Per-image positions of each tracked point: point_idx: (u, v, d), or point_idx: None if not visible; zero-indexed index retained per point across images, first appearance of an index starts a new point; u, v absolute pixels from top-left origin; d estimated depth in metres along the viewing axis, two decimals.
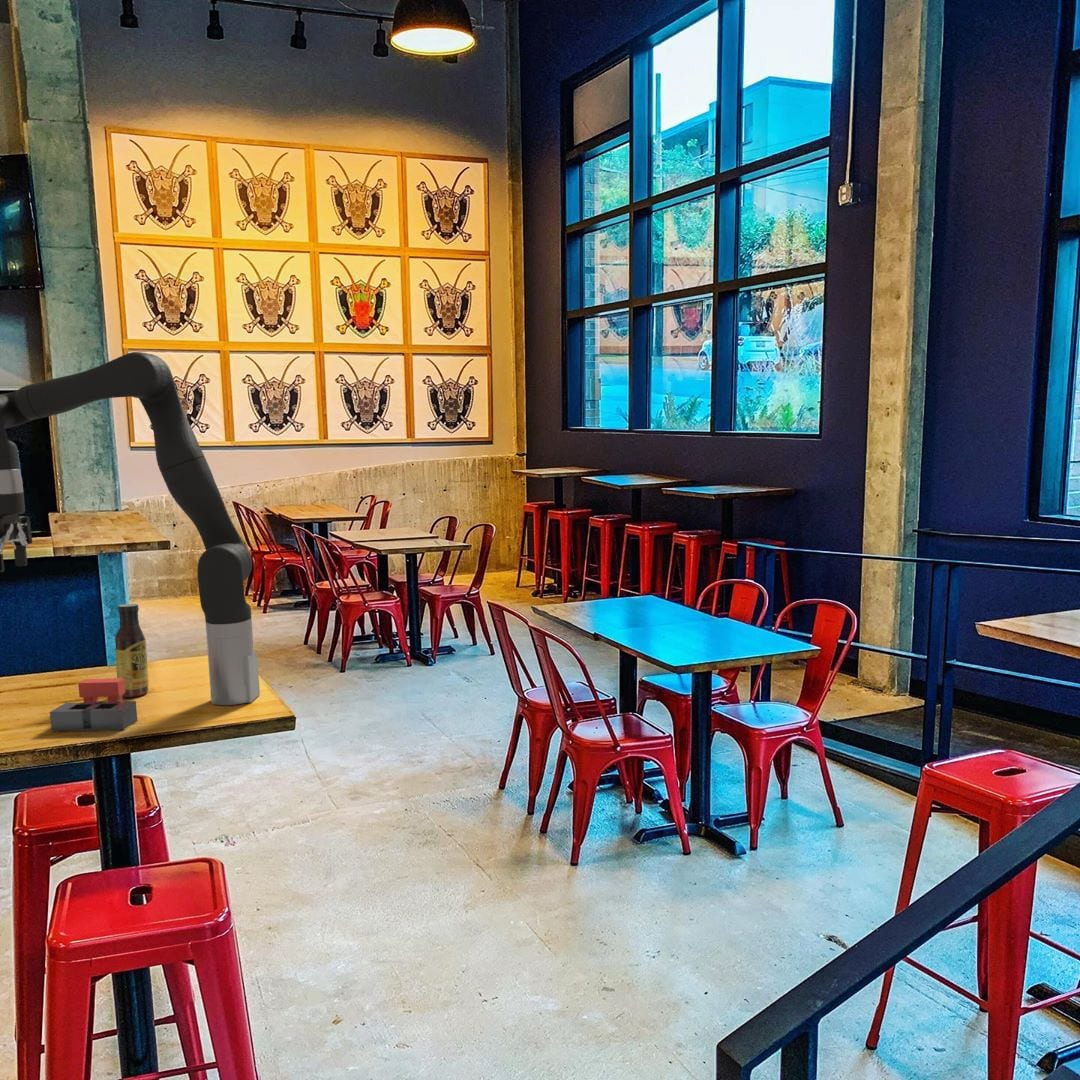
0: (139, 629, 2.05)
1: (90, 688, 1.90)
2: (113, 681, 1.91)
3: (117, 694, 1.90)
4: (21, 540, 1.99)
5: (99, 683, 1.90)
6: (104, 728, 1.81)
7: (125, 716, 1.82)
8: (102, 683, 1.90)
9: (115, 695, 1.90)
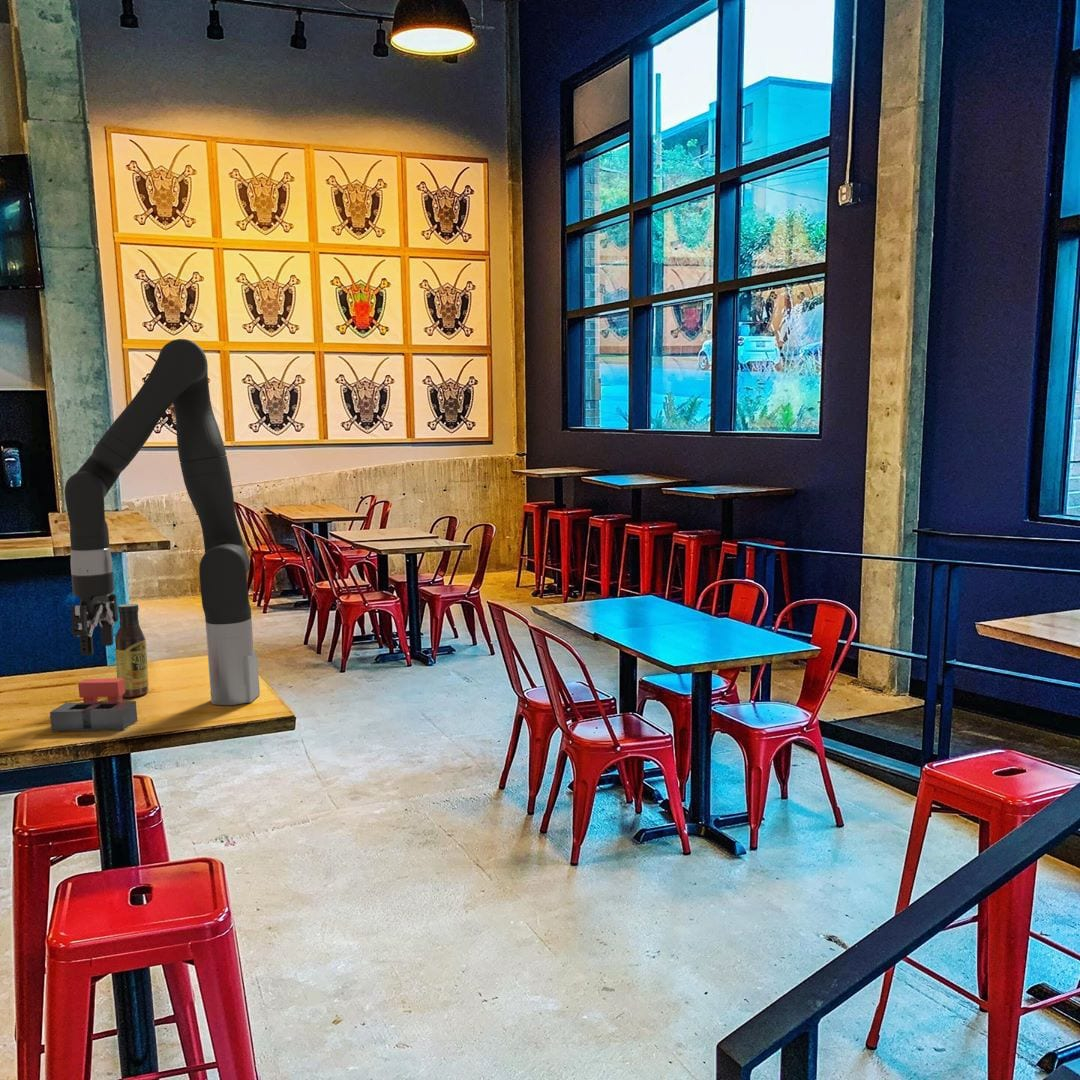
0: (139, 629, 2.05)
1: (90, 688, 1.90)
2: (113, 681, 1.91)
3: (117, 694, 1.90)
4: (108, 619, 1.93)
5: (99, 683, 1.90)
6: (104, 728, 1.81)
7: (125, 716, 1.82)
8: (102, 683, 1.90)
9: (115, 695, 1.90)
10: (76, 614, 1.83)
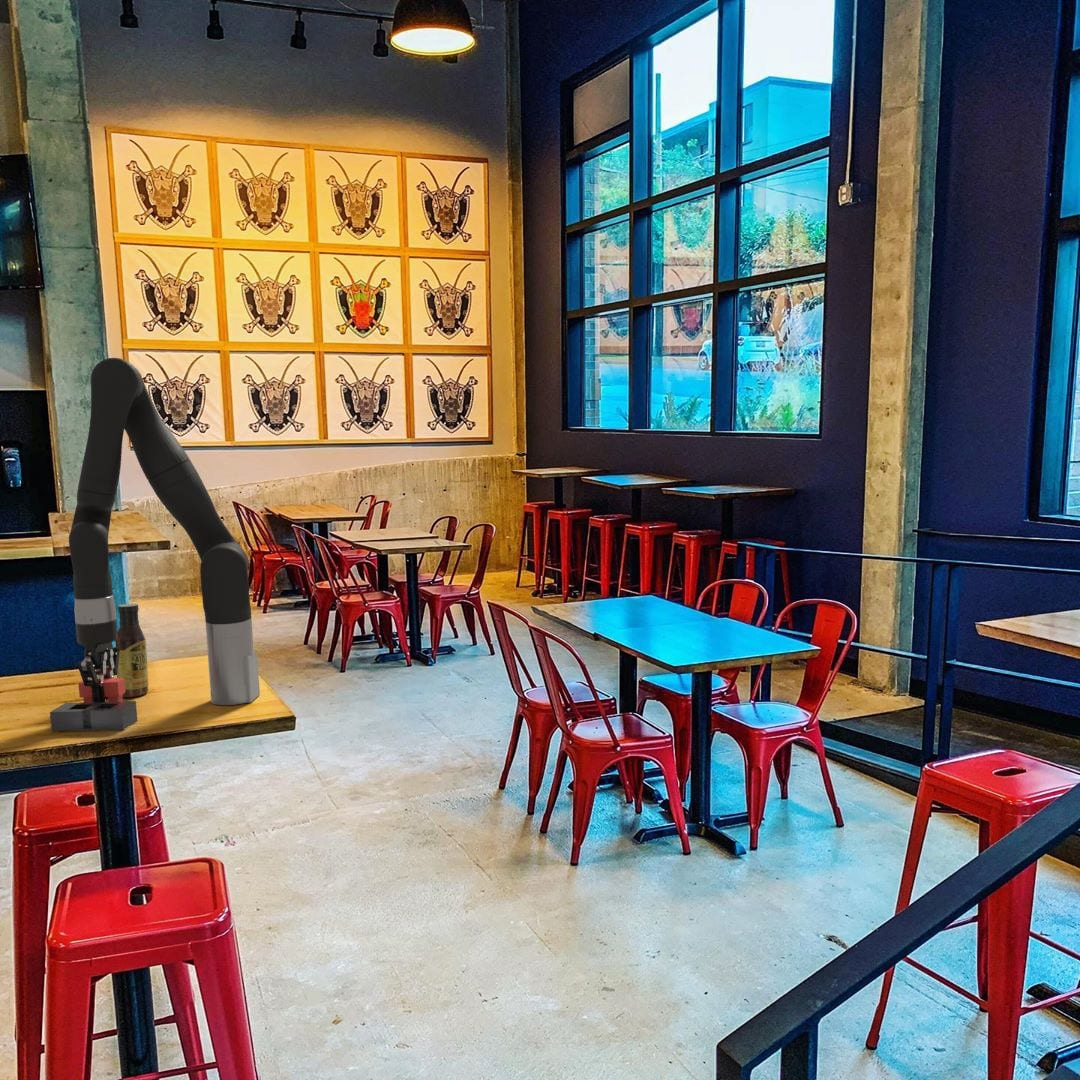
0: (139, 629, 2.05)
1: (90, 688, 1.90)
2: (113, 681, 1.91)
3: (117, 694, 1.90)
4: (109, 670, 1.93)
5: None
6: (104, 728, 1.81)
7: (125, 716, 1.82)
8: None
9: (115, 695, 1.90)
10: (84, 670, 1.85)
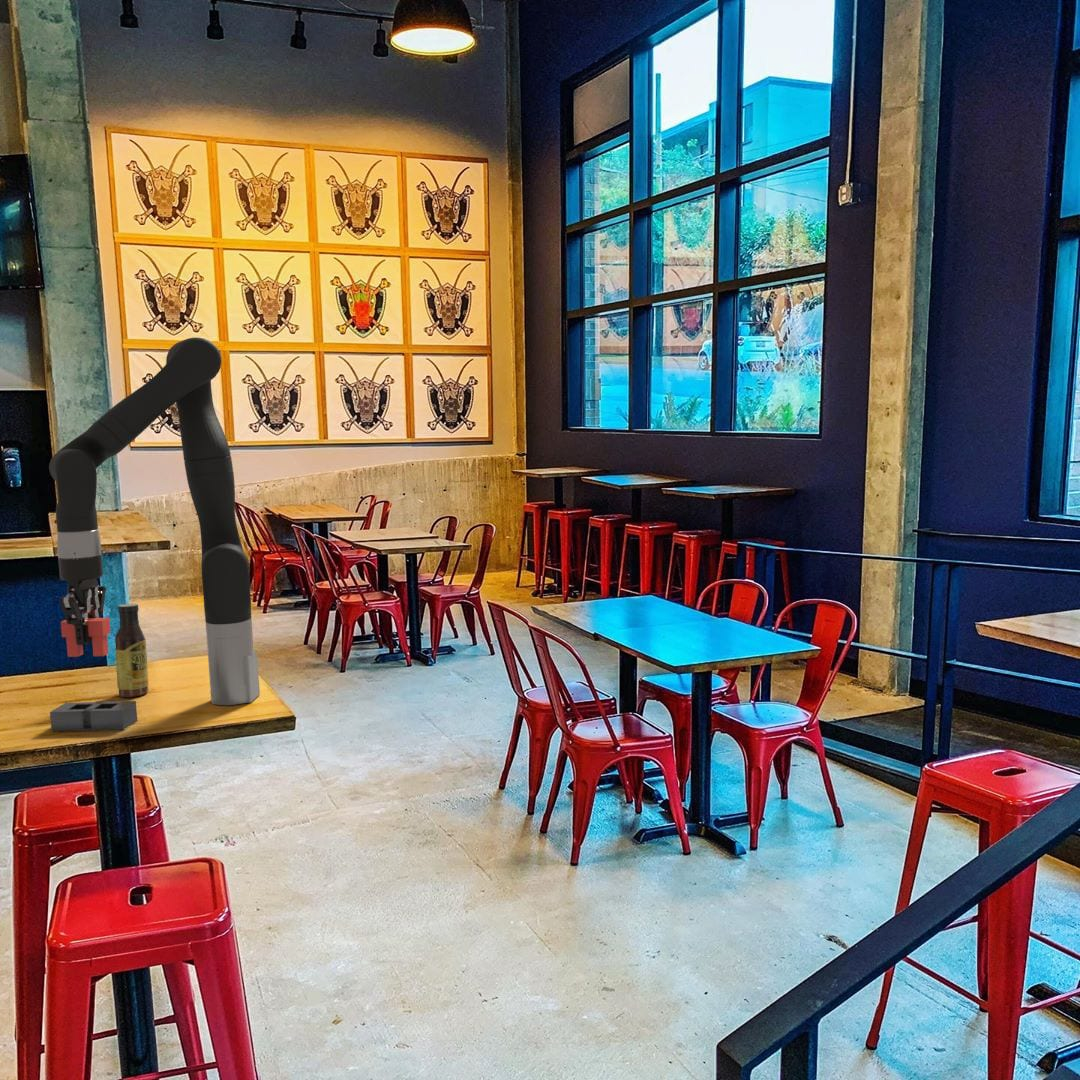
0: (139, 629, 2.05)
1: (74, 627, 1.81)
2: (97, 620, 1.81)
3: (101, 634, 1.81)
4: (94, 609, 1.83)
5: None
6: (104, 728, 1.81)
7: (125, 716, 1.82)
8: None
9: (99, 635, 1.81)
10: (66, 606, 1.76)
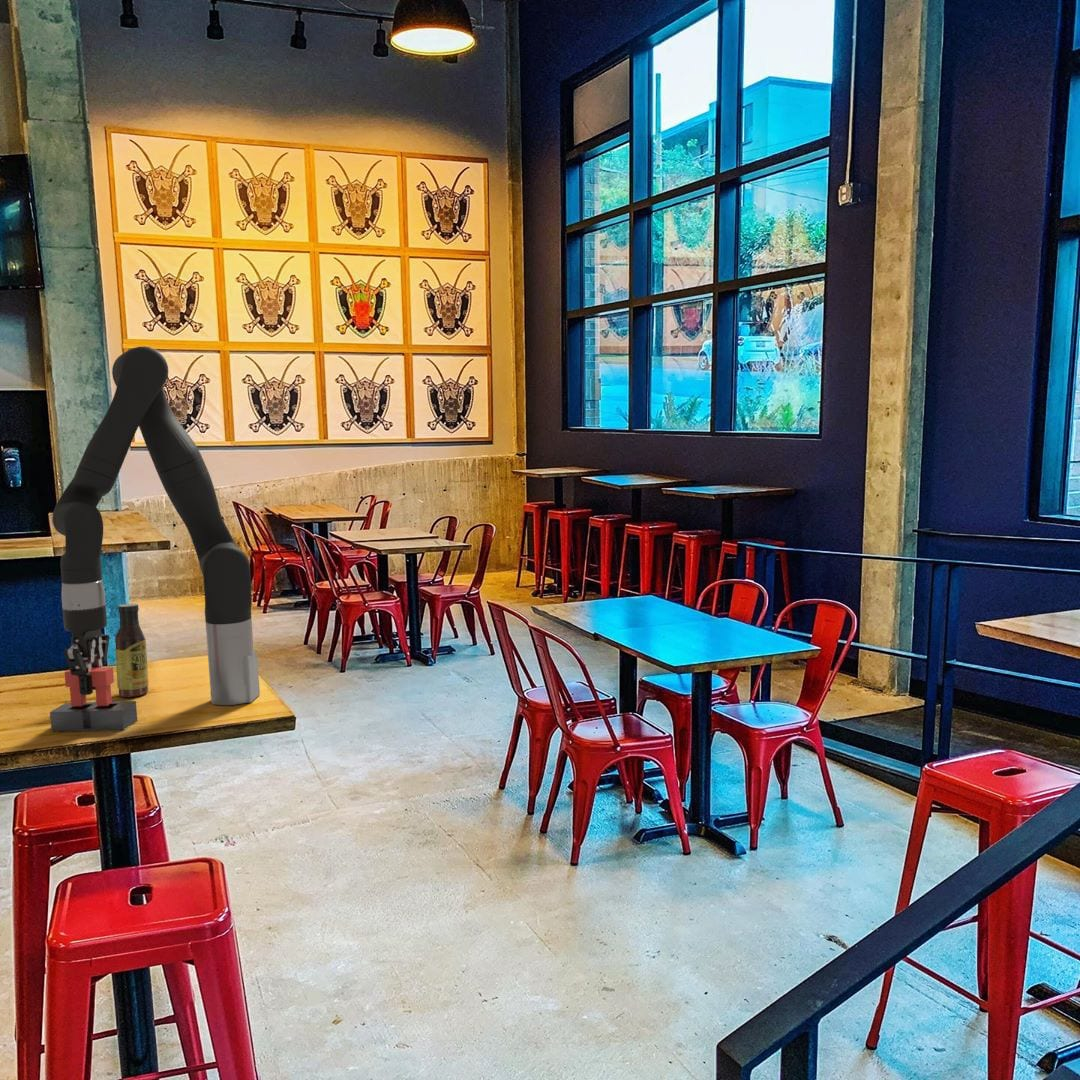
0: (139, 629, 2.05)
1: (77, 677, 1.82)
2: (101, 670, 1.82)
3: (105, 684, 1.82)
4: (97, 658, 1.84)
5: None
6: (104, 728, 1.81)
7: (125, 716, 1.82)
8: None
9: (103, 685, 1.82)
10: (70, 658, 1.77)
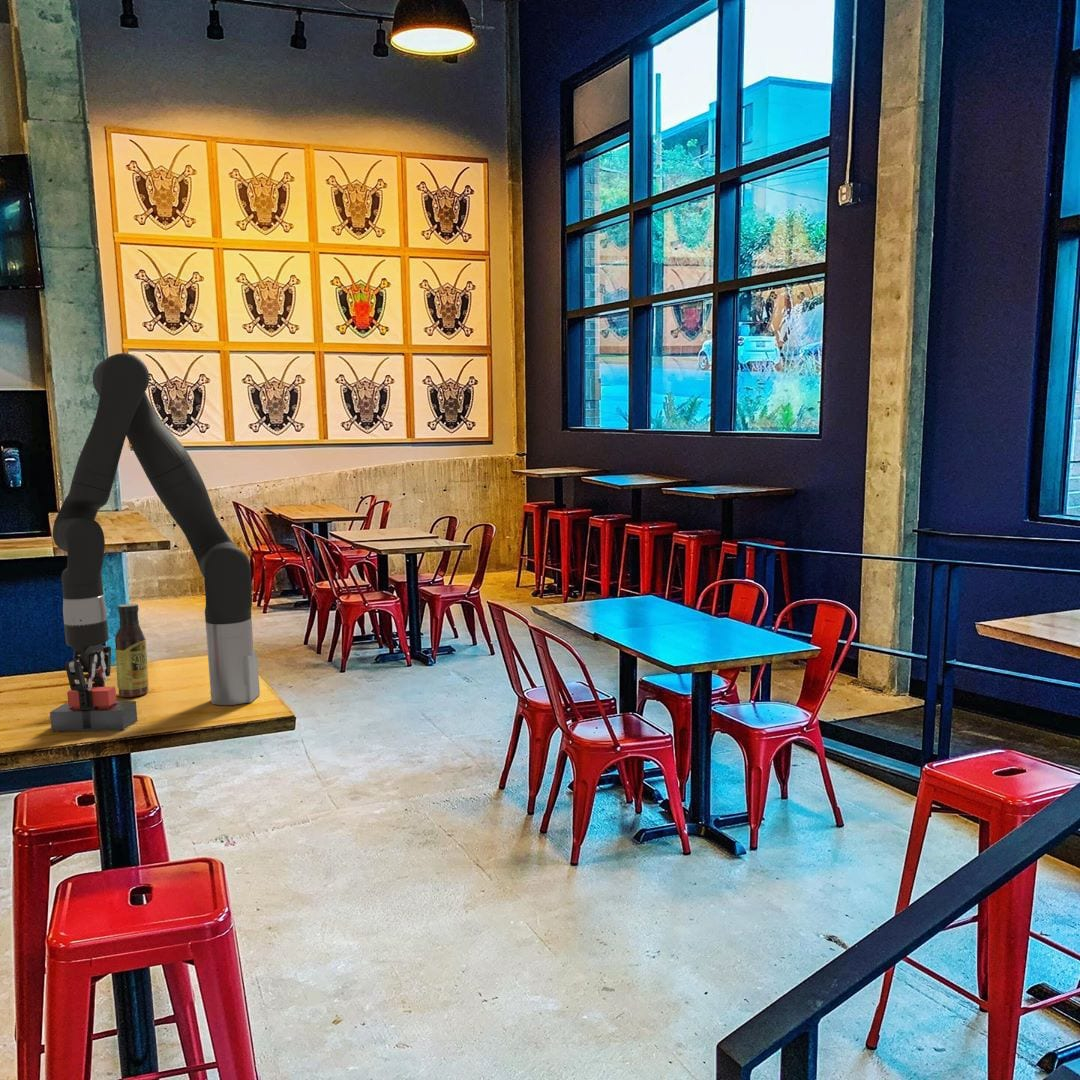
0: (139, 629, 2.05)
1: None
2: (103, 690, 1.83)
3: (107, 703, 1.82)
4: (101, 672, 1.85)
5: None
6: (104, 728, 1.81)
7: (125, 716, 1.82)
8: (92, 692, 1.82)
9: (105, 704, 1.82)
10: (71, 671, 1.77)
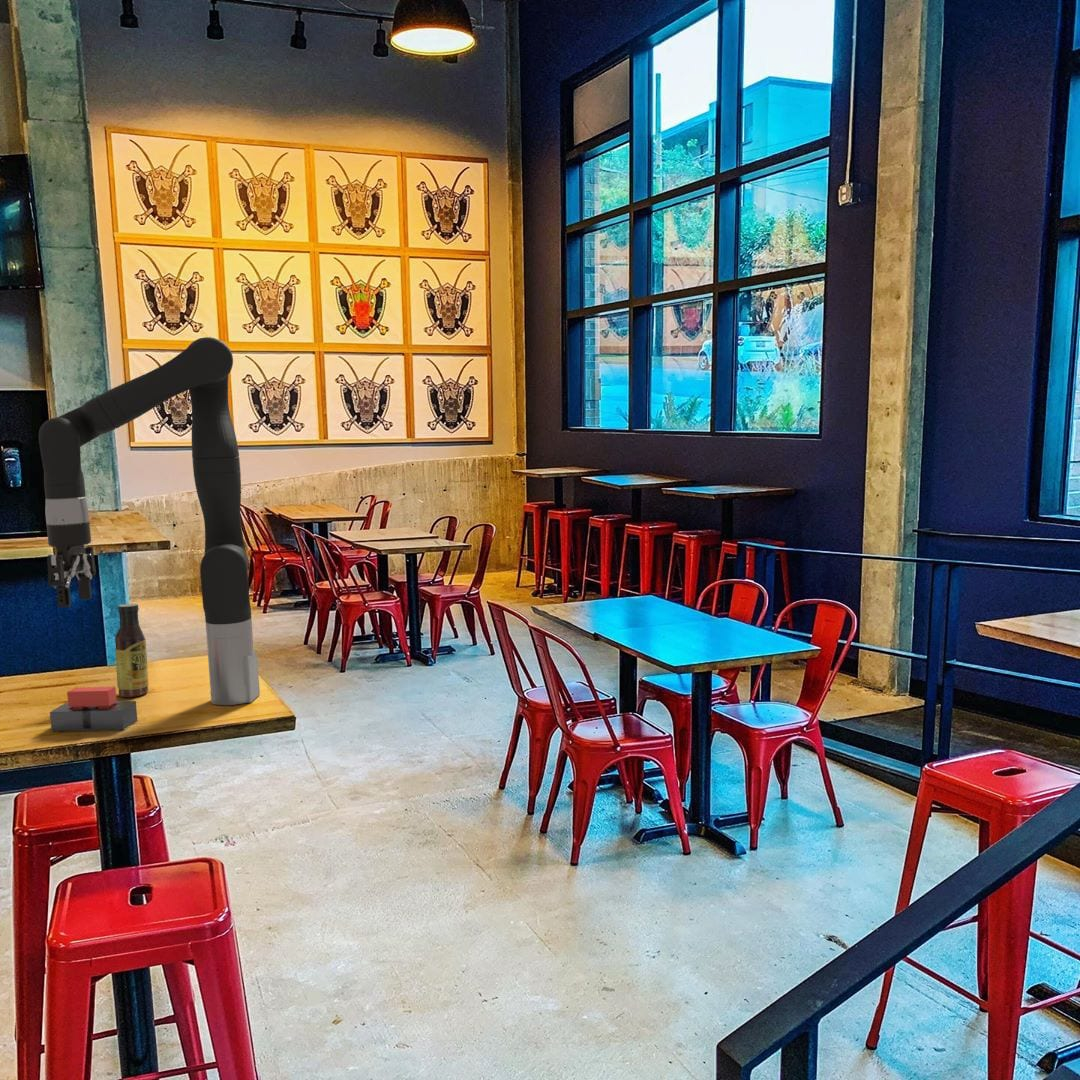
0: (139, 629, 2.05)
1: (80, 696, 1.82)
2: (103, 690, 1.83)
3: (108, 703, 1.82)
4: (86, 572, 1.88)
5: (89, 692, 1.82)
6: (104, 728, 1.81)
7: (125, 716, 1.82)
8: (92, 692, 1.82)
9: (105, 704, 1.82)
10: (52, 564, 1.78)
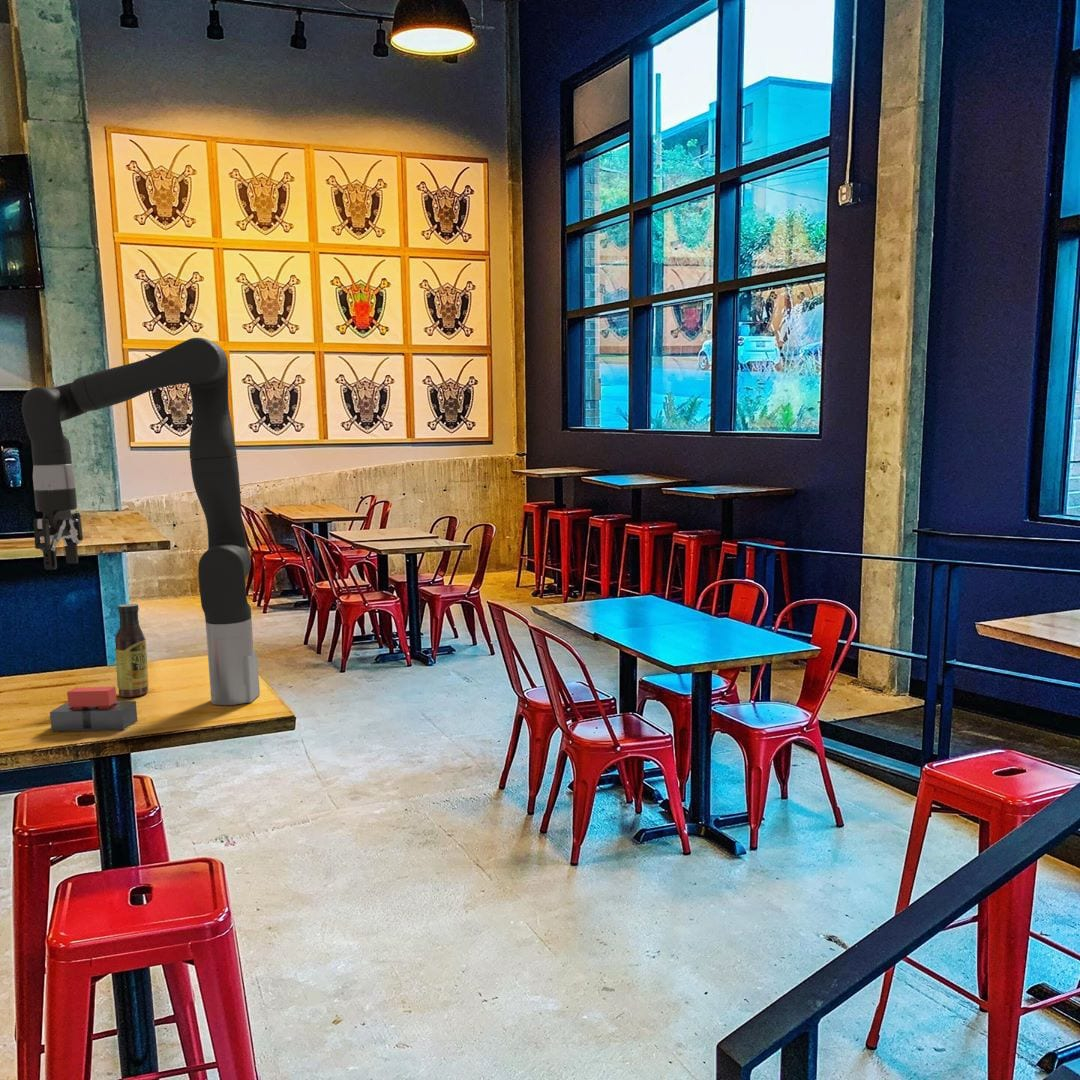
0: (139, 629, 2.05)
1: (80, 696, 1.82)
2: (103, 690, 1.83)
3: (108, 703, 1.82)
4: (72, 537, 1.95)
5: (89, 692, 1.82)
6: (104, 728, 1.81)
7: (125, 716, 1.82)
8: (92, 692, 1.82)
9: (105, 704, 1.82)
10: (38, 527, 1.85)
